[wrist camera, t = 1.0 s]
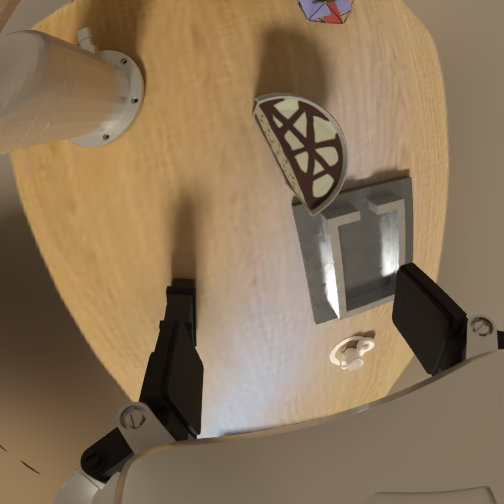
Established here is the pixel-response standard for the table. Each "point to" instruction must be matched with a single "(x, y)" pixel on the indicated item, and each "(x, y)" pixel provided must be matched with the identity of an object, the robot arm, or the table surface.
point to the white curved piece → (353, 352)
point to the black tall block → (182, 305)
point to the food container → (304, 146)
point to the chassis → (356, 247)
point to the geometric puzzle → (325, 10)
